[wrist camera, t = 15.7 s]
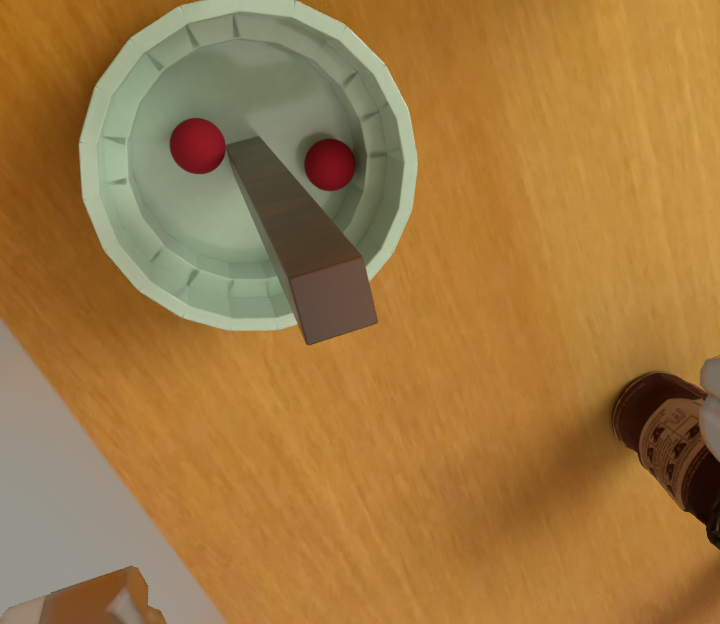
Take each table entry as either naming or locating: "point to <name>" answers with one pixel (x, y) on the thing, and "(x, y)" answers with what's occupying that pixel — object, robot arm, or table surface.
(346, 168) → the berry
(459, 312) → the table surface
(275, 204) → the stirring stick
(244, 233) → the bowl
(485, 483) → the table surface
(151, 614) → the robot arm
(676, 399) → the coffee cup
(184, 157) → the berry
